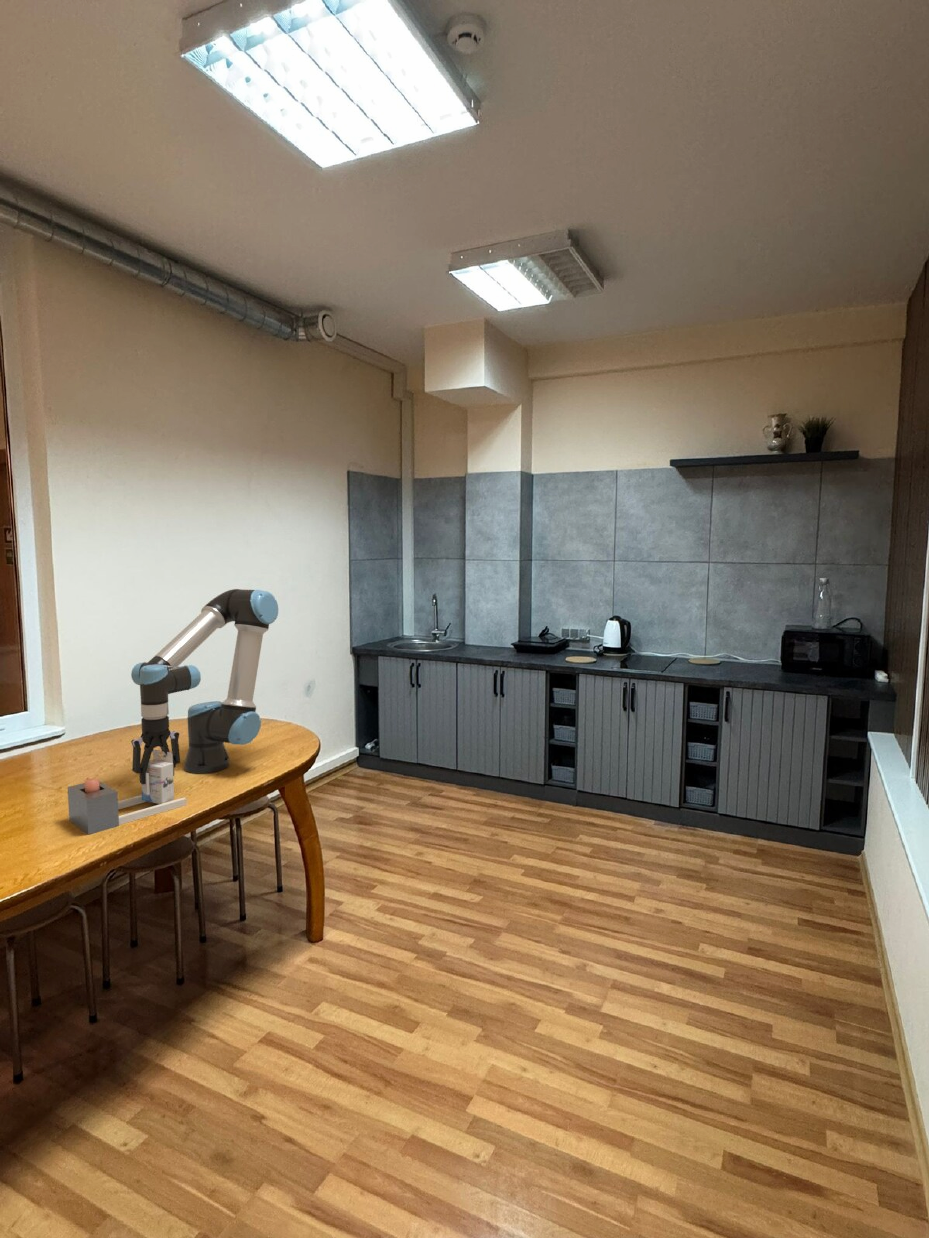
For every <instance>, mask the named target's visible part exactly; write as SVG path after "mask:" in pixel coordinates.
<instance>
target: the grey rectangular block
mask: <svg viewBox="0 0 929 1238" xmlns="http://www.w3.org/2000/svg"><path fill="white" fill-rule="evenodd" d="M99 789H100V791H96V792H92V793H88V794H86V793H85V782H83V783H78V784H74V785H70V786H67V801H68V803H67V804H68V805H67V806H68V816H69V817H68V818H69V820H68V821H69V822H71V823H72V824H73V825H74V826H76V827H77V828H78V829H80V830H81V831H82V832H84V833H86V834H87V835H88V836H89V835H93V834H97V833H99V832H103V831H105V830H106V831H107V830H109V829H112V828H116V827H119V826H120V825H119V816H120V815H119V810H118V801H119V800H118V799H119V798H118V795H119V794H118V791H117V790H115V789H114V788H112V787H111V786H109V785H107V784H105V782H102V781H100V780H99Z"/></svg>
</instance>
